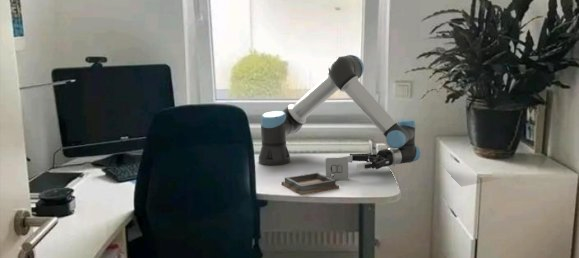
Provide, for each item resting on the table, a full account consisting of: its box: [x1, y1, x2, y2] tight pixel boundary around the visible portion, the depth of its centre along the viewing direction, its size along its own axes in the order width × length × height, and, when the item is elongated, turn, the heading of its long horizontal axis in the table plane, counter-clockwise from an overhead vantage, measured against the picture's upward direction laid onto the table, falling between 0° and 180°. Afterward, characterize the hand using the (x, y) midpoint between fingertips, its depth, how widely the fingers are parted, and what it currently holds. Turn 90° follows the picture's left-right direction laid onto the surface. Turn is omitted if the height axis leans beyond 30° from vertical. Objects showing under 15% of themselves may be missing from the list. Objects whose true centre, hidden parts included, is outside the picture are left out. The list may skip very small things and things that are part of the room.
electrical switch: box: [325, 157, 349, 181], centre depth 234 cm, size 9×5×9 cm, turn 87°
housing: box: [281, 172, 340, 196], centre depth 224 cm, size 17×17×3 cm
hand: (348, 163), depth 236 cm, fingers open, 13 cm apart
